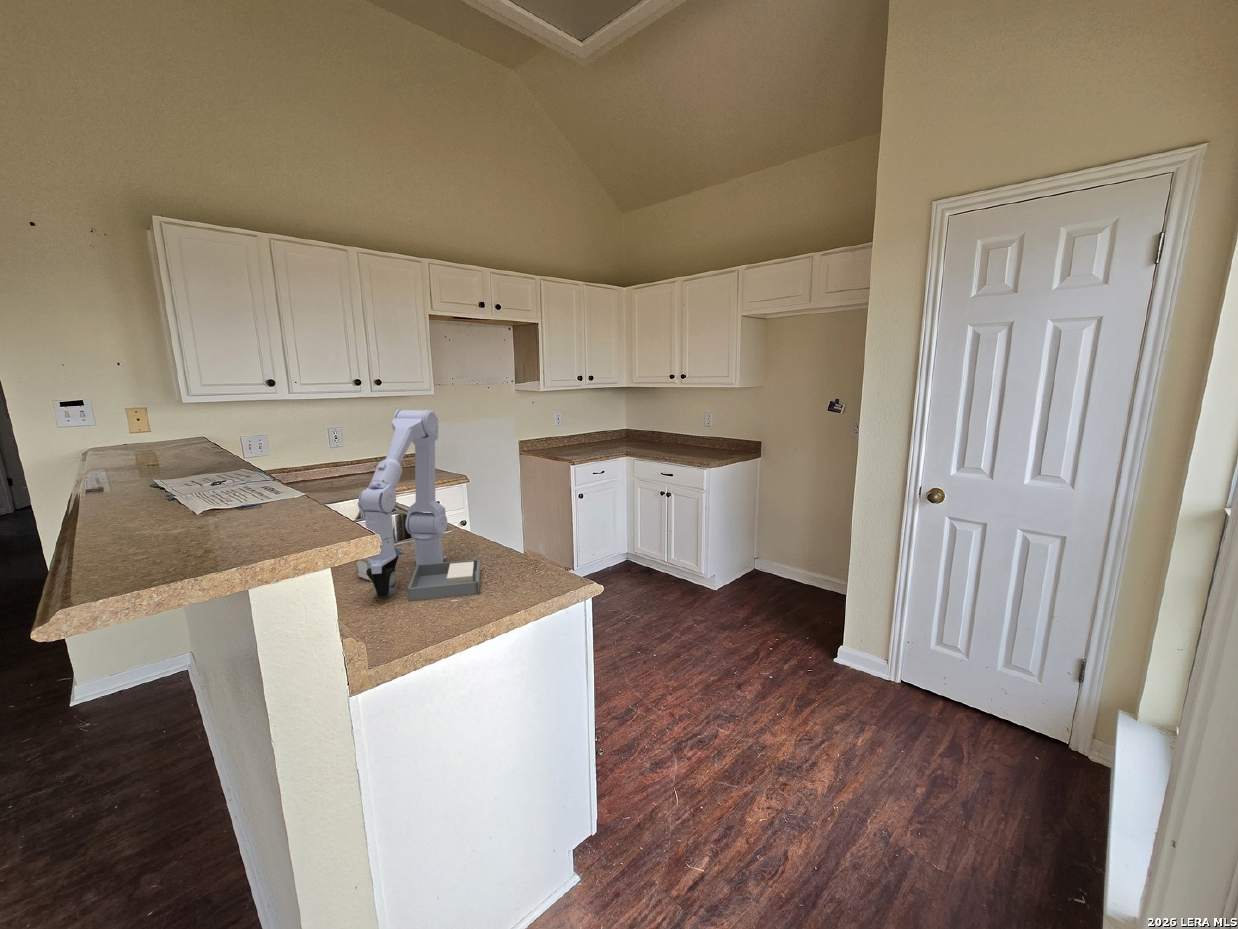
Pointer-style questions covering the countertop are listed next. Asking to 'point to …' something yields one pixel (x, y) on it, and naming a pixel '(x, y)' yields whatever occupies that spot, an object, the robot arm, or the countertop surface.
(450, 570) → the block
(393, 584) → the metal can
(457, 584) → the tote
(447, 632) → the countertop surface
